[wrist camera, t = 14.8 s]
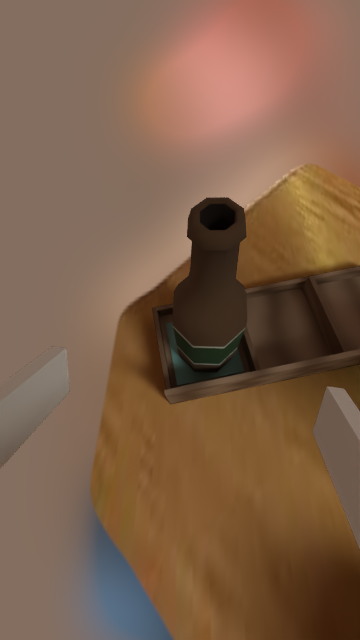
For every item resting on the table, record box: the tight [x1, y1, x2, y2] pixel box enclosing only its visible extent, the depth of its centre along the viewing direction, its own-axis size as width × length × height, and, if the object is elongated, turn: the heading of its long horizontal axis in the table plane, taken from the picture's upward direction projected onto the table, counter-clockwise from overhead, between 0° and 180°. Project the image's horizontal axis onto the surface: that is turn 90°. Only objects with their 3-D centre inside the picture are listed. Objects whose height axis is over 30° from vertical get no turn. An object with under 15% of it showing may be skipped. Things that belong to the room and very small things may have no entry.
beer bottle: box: [172, 198, 247, 373], centre depth 27 cm, size 8×8×24 cm
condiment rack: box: [152, 266, 360, 404], centre depth 36 cm, size 34×13×7 cm, turn 101°
